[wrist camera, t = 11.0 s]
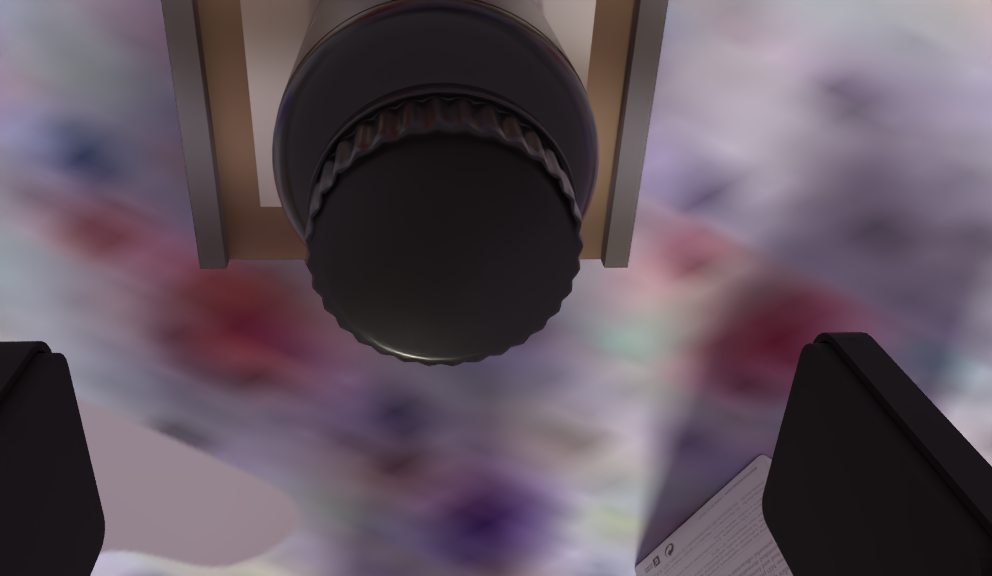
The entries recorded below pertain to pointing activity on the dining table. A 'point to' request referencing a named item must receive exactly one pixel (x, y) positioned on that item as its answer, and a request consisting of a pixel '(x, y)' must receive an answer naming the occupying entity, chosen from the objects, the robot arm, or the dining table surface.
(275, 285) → the dining table surface
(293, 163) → the supplement bottle
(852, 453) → the robot arm
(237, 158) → the dock
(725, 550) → the supplement box
